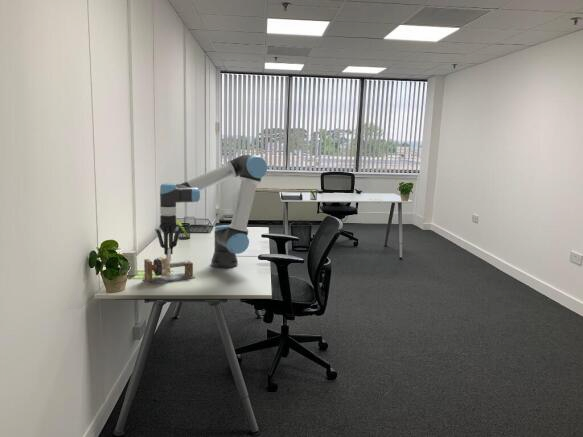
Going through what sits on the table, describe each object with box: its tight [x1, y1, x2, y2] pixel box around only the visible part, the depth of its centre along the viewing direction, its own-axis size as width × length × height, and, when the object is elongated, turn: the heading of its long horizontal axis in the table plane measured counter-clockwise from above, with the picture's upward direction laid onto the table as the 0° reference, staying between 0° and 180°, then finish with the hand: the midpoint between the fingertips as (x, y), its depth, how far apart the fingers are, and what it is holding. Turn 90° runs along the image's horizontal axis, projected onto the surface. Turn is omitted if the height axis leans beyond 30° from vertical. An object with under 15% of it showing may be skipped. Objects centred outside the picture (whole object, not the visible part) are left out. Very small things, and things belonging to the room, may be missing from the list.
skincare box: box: [121, 250, 138, 276], centre depth 225 cm, size 6×4×12 cm
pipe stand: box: [142, 258, 196, 286], centre depth 220 cm, size 24×9×11 cm, turn 125°
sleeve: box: [156, 256, 171, 277], centre depth 218 cm, size 4×8×8 cm, turn 36°
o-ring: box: [152, 258, 162, 277], centre depth 216 cm, size 2×8×8 cm, turn 36°
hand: (168, 260), depth 219 cm, fingers closed
